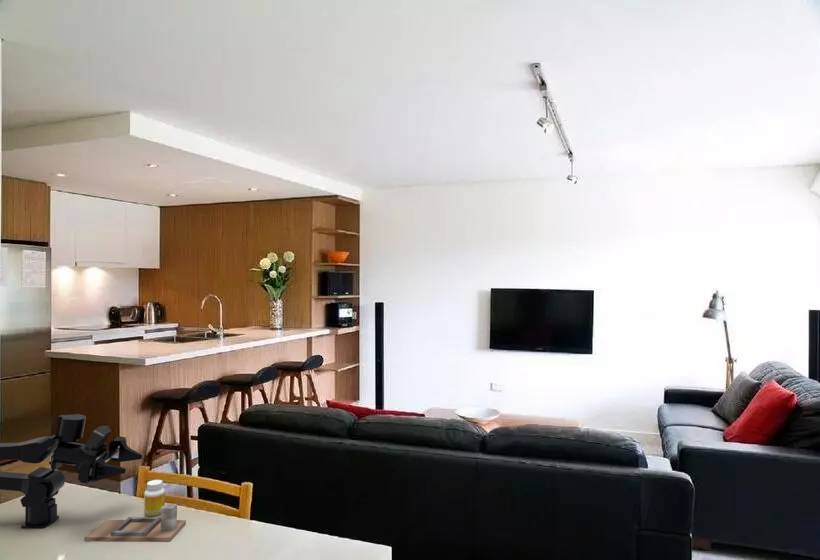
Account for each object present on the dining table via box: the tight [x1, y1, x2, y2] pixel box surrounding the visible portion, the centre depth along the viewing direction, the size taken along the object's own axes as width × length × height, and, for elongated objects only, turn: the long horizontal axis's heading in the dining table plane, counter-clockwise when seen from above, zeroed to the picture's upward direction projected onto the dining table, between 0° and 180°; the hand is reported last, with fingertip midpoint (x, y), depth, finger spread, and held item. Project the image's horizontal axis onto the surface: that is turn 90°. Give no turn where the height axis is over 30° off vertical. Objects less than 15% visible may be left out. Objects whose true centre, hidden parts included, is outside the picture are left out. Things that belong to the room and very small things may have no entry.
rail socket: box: [84, 503, 187, 542], centre depth 143 cm, size 22×10×7 cm, turn 91°
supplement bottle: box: [143, 479, 166, 517], centre depth 153 cm, size 5×5×10 cm
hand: (134, 463), depth 149 cm, fingers open, 9 cm apart
